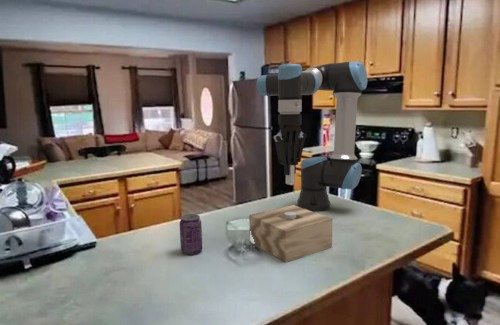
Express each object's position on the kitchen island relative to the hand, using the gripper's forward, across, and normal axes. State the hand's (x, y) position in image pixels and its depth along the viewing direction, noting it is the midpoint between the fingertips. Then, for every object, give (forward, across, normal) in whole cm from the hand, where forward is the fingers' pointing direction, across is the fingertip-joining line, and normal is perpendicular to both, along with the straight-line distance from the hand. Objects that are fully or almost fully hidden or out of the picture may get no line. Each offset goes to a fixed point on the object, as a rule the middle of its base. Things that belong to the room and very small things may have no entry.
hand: (290, 184), depth 121 cm
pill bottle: (+20, 0, 0) cm, 20 cm away
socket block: (+21, 0, 0) cm, 21 cm away
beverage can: (+22, -30, +15) cm, 40 cm away
